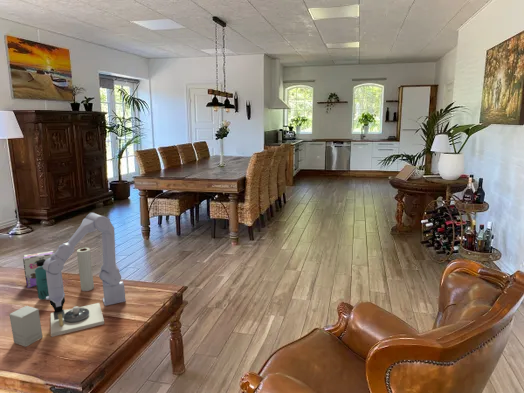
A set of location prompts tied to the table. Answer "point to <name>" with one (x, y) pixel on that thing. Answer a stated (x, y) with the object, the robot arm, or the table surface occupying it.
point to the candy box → (33, 266)
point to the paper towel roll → (85, 269)
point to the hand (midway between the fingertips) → (59, 314)
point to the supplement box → (26, 326)
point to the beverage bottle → (41, 280)
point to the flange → (72, 315)
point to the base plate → (66, 327)
